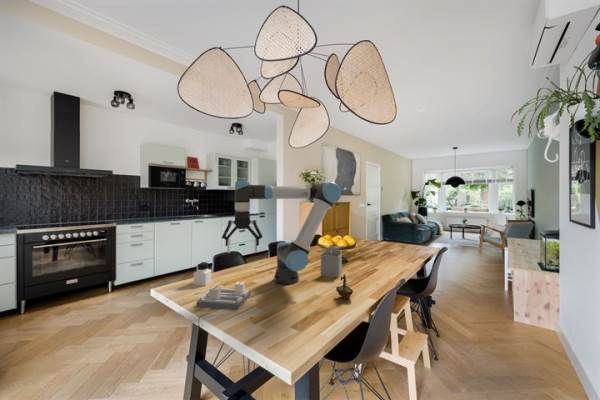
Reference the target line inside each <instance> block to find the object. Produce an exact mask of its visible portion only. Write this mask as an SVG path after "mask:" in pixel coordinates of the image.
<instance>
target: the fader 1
mask: <svg viewBox="0 0 600 400" xmlns="http://www.w3.org/2000/svg"><path fill="white" fill-rule="evenodd" d="M221 289H222V286H212V287H210V288H209V289H208V293H209V299H211V300H219V299H220V298H221Z"/></svg>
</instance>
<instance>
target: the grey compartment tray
mask: <svg viewBox="0 0 600 400" xmlns="http://www.w3.org/2000/svg"><path fill="white" fill-rule="evenodd" d="M250 296H251V291H250V290H249V289H245V292H244V293H243V295H242V294H235V288H233V289H232V288H221V298H220V299H219V300H211V299H209V292H207V293H205V294H203V295H201V296H200V297H199V300H197V301H196V307H201V308H215V309H227V310H239V309H240V308H242V306H243V305H244V303H245V302H246V301H247V300H248V299H249V298H250Z"/></svg>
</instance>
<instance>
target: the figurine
mask: <svg viewBox="0 0 600 400" xmlns="http://www.w3.org/2000/svg"><path fill="white" fill-rule="evenodd" d="M340 281H343V282H342V285H340V286H336V287H335V291H336V292H337V294H338V296H340V298H342V299H349V298H351V296H352V295H353V293H354V290H353V289H352V288H351V287H349V286H348V282H347V276H346V274H343V276H340Z"/></svg>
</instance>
